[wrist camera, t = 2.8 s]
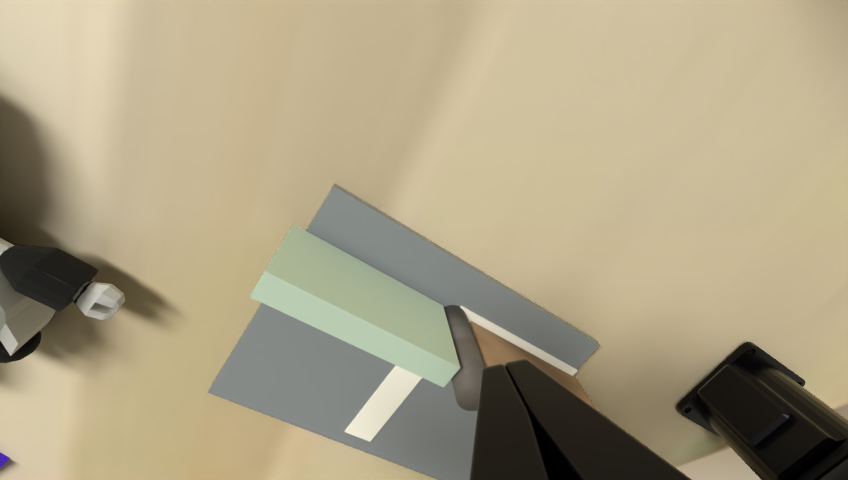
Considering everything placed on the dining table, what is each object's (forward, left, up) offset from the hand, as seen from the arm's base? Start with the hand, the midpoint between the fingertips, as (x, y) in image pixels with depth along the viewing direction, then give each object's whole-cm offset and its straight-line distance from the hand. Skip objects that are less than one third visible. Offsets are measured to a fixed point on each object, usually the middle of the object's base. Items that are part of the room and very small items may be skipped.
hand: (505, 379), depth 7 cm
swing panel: (0, +5, -12) cm, 13 cm away
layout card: (-5, +9, -13) cm, 16 cm away
